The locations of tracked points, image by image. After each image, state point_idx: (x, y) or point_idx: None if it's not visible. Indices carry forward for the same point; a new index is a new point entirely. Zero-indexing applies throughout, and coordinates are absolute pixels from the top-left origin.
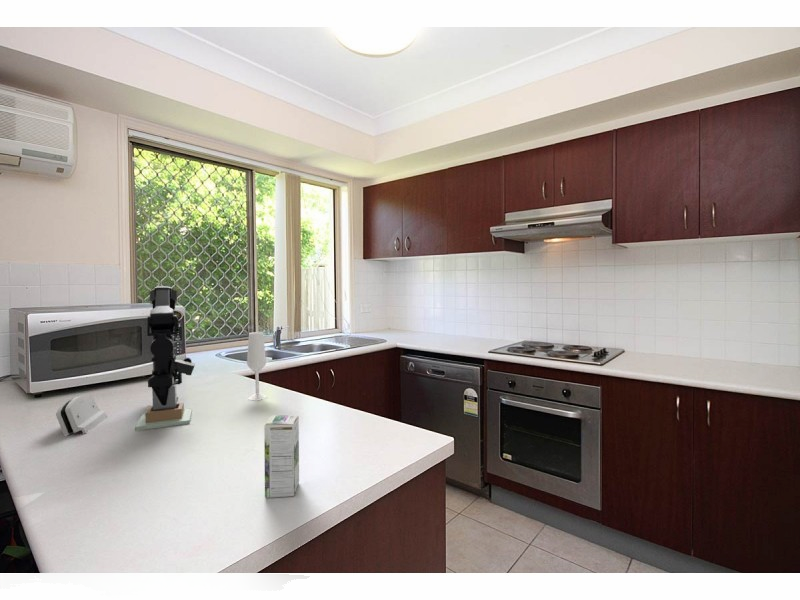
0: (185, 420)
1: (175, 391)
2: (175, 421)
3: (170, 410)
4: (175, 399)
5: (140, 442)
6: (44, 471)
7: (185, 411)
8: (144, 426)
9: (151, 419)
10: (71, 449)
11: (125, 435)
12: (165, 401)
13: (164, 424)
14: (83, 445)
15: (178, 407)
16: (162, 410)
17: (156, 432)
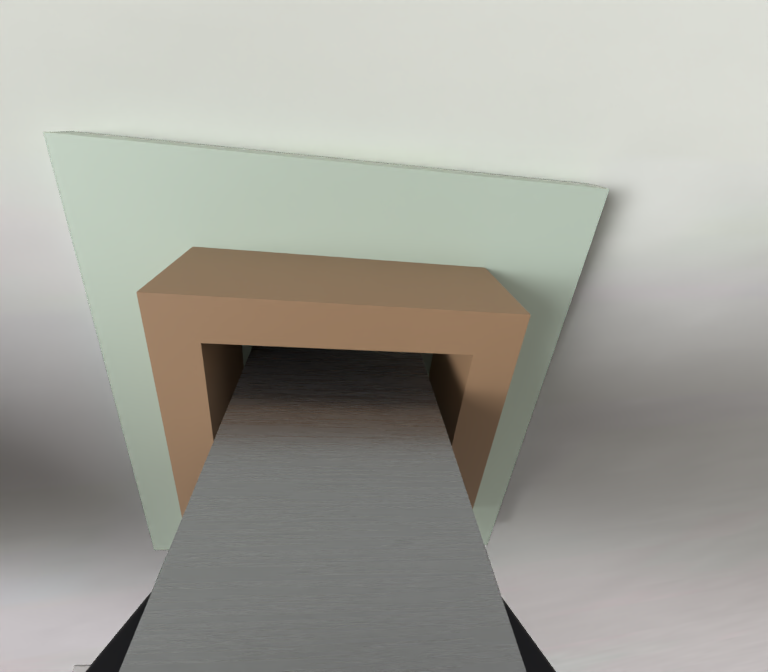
0: (586, 231)
1: (409, 636)
2: (547, 322)
3: (494, 423)
4: (435, 471)
5: (744, 473)
6: (759, 656)
7: (186, 227)
8: (499, 501)
9: None
10: (583, 655)
11: (542, 545)
12: None
13: (533, 393)
14: (563, 639)
15: (426, 352)
16: None
17: (623, 418)
